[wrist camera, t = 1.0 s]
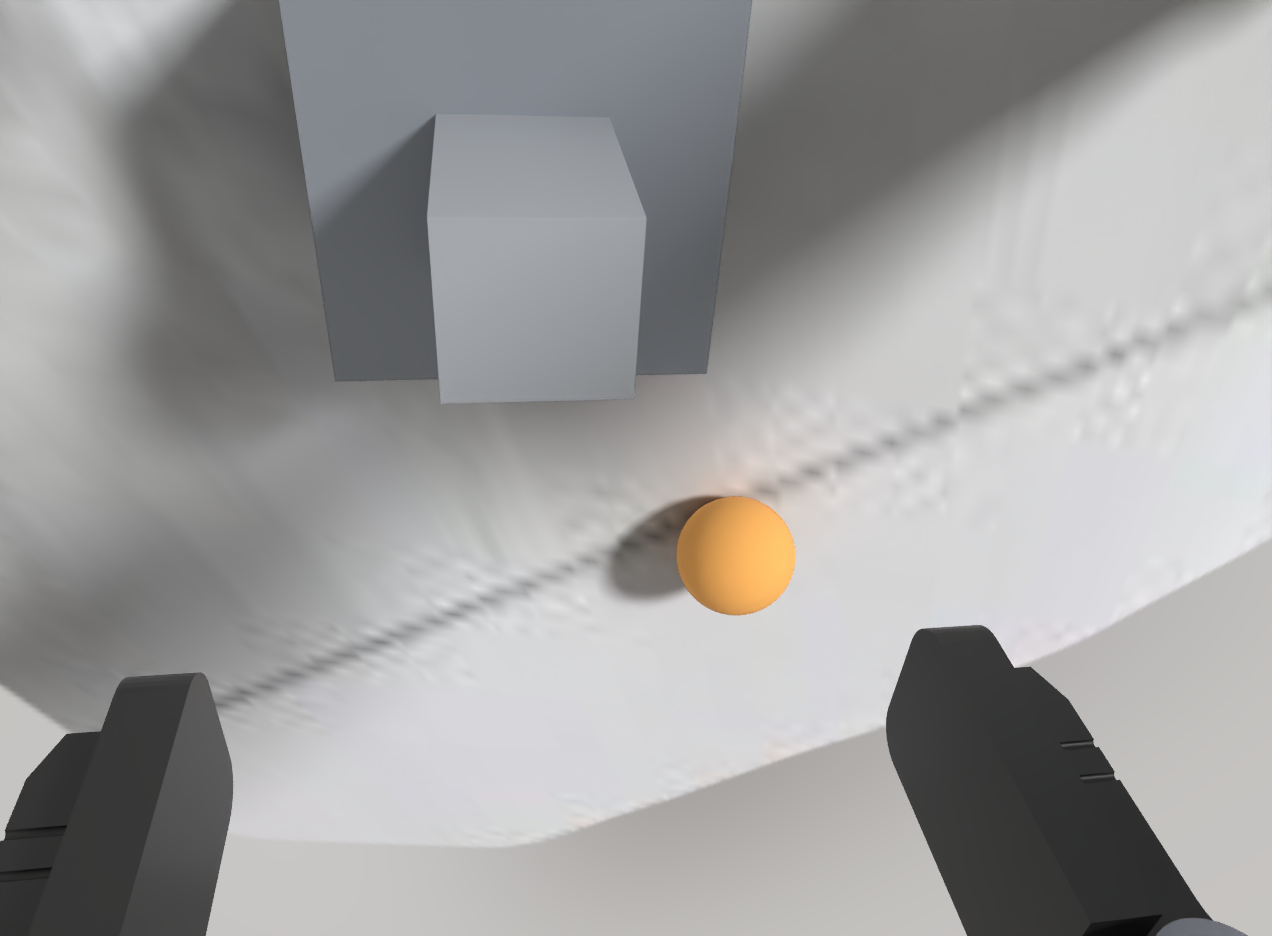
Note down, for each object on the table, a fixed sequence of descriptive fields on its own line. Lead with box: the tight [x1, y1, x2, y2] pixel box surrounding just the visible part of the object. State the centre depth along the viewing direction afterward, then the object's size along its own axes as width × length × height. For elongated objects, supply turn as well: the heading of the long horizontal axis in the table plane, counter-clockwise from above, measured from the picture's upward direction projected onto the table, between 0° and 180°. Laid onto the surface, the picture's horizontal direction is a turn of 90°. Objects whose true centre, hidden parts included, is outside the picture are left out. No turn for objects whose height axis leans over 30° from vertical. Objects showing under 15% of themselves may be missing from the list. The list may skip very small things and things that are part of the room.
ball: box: [676, 496, 795, 615], centre depth 40 cm, size 5×5×5 cm
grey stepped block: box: [279, 0, 752, 404], centre depth 25 cm, size 10×10×15 cm
